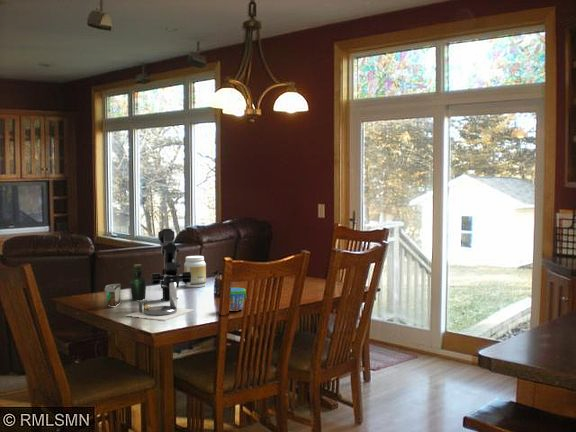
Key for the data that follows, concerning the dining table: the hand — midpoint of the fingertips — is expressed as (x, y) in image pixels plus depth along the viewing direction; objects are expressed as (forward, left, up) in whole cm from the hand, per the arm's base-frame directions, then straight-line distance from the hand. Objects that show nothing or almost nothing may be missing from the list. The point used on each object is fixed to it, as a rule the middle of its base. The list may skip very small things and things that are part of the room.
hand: (172, 292), depth 305 cm
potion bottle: (-33, +15, -9) cm, 37 cm away
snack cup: (+27, +11, -9) cm, 31 cm away
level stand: (-1, -8, -9) cm, 12 cm away
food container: (-35, -3, -9) cm, 36 cm away
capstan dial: (-1, -8, -9) cm, 12 cm away
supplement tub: (-28, +59, -9) cm, 66 cm away
